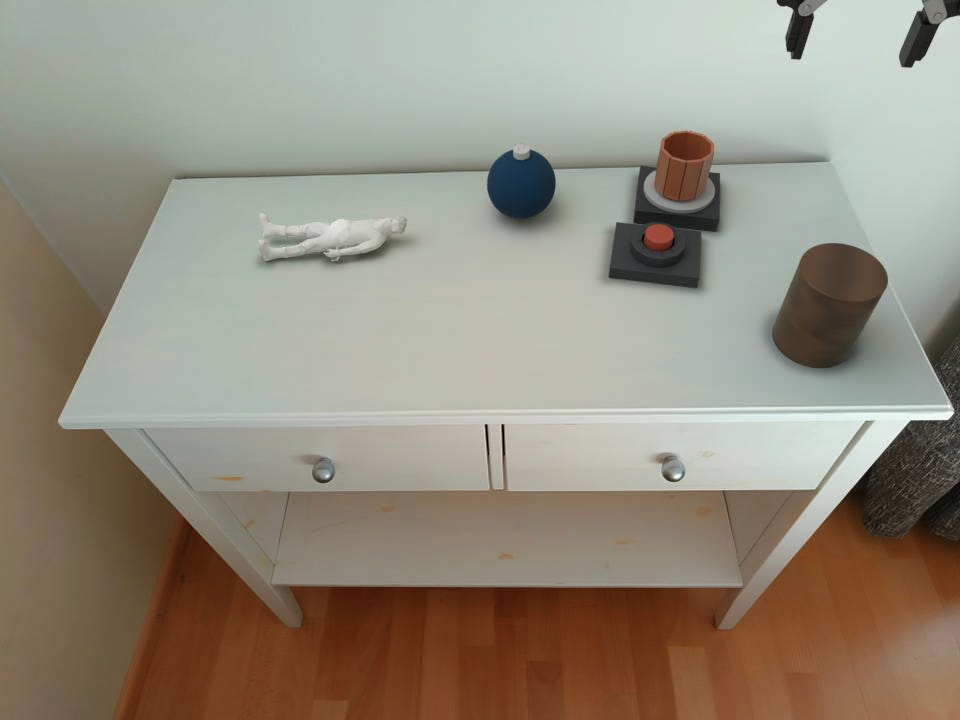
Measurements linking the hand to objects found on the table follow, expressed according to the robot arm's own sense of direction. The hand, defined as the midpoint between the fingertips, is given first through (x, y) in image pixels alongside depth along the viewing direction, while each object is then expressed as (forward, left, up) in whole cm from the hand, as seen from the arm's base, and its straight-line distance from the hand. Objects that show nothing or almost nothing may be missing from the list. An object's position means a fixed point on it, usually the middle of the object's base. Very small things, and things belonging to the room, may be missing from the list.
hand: (849, 58), depth 60 cm
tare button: (+12, -4, -26) cm, 28 cm away
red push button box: (+12, -4, -28) cm, 31 cm away
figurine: (+50, 0, -28) cm, 57 cm away
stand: (-5, +5, -28) cm, 29 cm away
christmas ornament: (+29, -10, -28) cm, 42 cm away
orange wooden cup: (+10, -14, -26) cm, 31 cm away
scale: (+10, -15, -28) cm, 33 cm away
